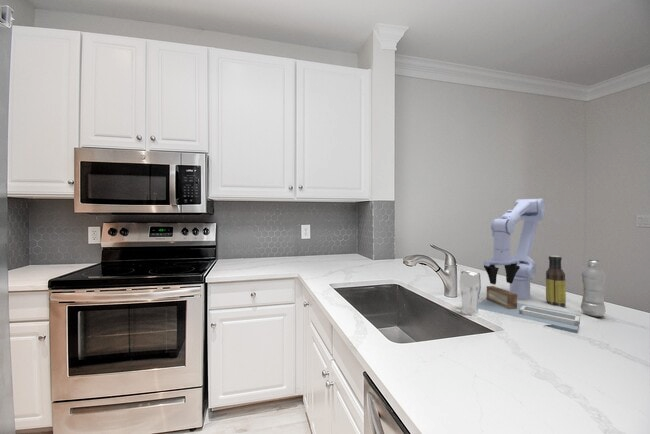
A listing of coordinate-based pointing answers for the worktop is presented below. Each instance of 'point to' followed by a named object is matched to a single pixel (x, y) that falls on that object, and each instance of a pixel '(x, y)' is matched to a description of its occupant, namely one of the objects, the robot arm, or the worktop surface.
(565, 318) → the wall board
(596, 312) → the plastic bottle
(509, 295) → the wooden block
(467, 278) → the beer glass
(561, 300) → the brown medicine bottle
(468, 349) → the worktop surface
